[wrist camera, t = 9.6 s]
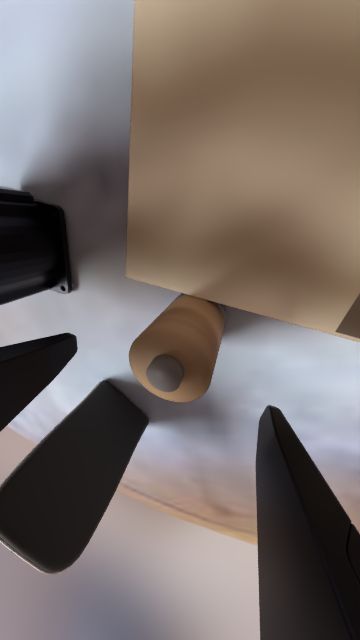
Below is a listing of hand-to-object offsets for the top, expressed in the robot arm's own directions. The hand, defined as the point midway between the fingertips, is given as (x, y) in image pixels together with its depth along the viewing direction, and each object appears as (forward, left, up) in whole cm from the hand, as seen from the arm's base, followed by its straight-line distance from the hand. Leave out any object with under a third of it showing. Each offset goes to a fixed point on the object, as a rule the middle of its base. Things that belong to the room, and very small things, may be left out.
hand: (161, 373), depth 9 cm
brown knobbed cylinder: (0, 0, -6) cm, 6 cm away
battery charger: (-13, +6, -7) cm, 16 cm away
